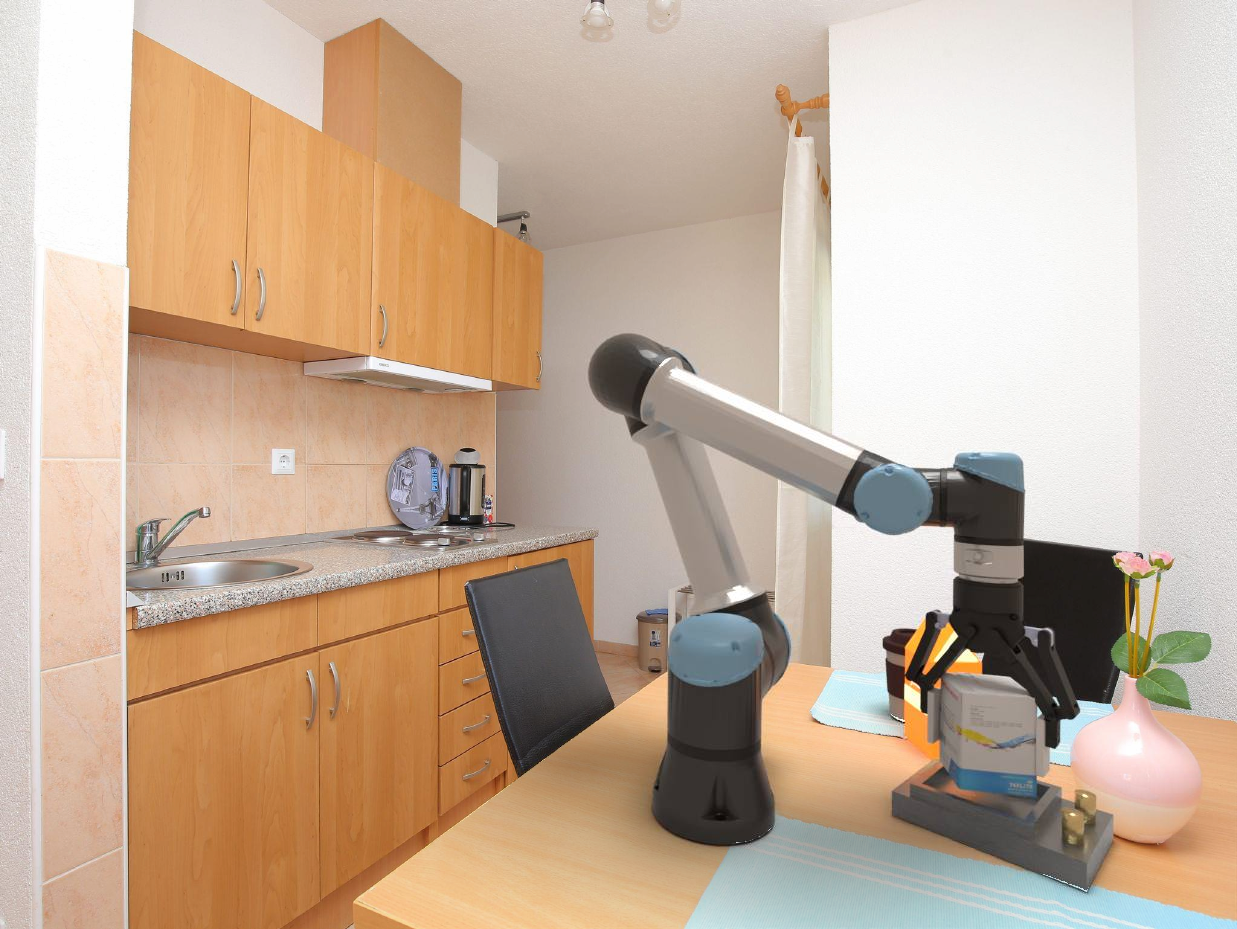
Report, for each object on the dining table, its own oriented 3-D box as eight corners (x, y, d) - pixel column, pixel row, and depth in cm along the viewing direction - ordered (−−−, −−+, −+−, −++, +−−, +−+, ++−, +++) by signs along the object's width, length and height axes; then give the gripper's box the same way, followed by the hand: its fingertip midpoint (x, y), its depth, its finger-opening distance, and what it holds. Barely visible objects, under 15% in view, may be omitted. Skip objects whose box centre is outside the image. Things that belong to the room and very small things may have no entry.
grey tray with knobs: (891, 815, 80) (892, 766, 80) (934, 779, 90) (935, 736, 90) (1086, 892, 66) (1087, 833, 66) (1113, 840, 76) (1113, 788, 76)
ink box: (1038, 799, 74) (1039, 697, 74) (958, 790, 76) (959, 690, 76) (1009, 766, 82) (1010, 674, 83) (937, 759, 84) (938, 669, 84)
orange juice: (950, 736, 105) (951, 613, 106) (982, 760, 97) (983, 626, 97) (902, 736, 105) (904, 613, 105) (930, 760, 96) (932, 625, 97)
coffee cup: (873, 719, 112) (874, 632, 112) (892, 704, 120) (893, 623, 120) (935, 734, 106) (935, 643, 106) (950, 718, 113) (951, 632, 114)
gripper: (879, 568, 85) (876, 734, 85) (1099, 595, 68) (1097, 803, 68) (903, 563, 91) (900, 720, 90) (1113, 588, 73) (1111, 780, 73)
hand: (985, 755), depth 79 cm, fingers closed on ink box, 11 cm apart
